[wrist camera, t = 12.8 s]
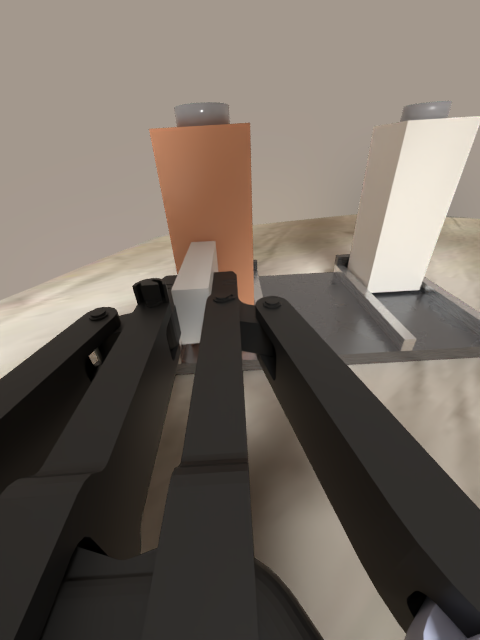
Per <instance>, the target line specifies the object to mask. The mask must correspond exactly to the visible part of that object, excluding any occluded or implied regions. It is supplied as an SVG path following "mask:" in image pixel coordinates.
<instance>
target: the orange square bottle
mask: <svg viewBox="0 0 480 640" xmlns="http://www.w3.org/2000/svg"><path fill="white" fill-rule="evenodd" d="M174 109H175V117H176V123H177V127H172V128H156V129H149V131H150V136H151V141H152V146H153V151H154V156H155V161H156V167H157V172H158V177H159V182H160V187H161V192H162V197H163V202H164V208H165V212H166V218H167V223H168V228H169V233H170V238H171V244H172V249H173V254H174V259H175V264H176V269H177V274H178V273H179V270H180V268H181V265H182V263H183V261H184V258H185V256H186V253H187V251H188V248H189V246H190V244H191V242H202V241H215V242H216V252H217V261H218V271H219V272H226V271H233V272H234V273H235V274H236V275H237V287H238V298H239V300H240V301H241V302H243V303H246V304H249V305H254V274H253V231H252V191H251V190H252V188H251V148H250V146H251V145H250V123H238V124H230V120H229V105H228V104H224V103H210V102H208V103H191V104H184V105H179V106H176V107H175V108H174Z"/></svg>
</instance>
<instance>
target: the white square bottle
mask: <svg viewBox="0 0 480 640" xmlns="http://www.w3.org/2000/svg"><path fill="white" fill-rule="evenodd" d="M451 104H452V101H439V102H429V103H420V104H413V105H408V106H405V107H404V108H403V112H402V116H401V120H400V122H397V123H391V124H385V125H379V126H374V128H373V134H372V139H371V145H370V150H369V155H368V161H367V166H366V171H365V177H364V182H363V187H362V193H361V198H360V204H359V209H358V214H357V220H356V225H355V230H354V236H353V241H352V246H351V252H350V257H349V262H348V268H347V269H348V270H349V271H350V272H351V273H352V274H353V275H354V276H355V277H356V278H357V279H358V280H359V281H360V282H361V283H362V284H363V285H364V286H365V287H366V288H367V289H368V290H369V291H370V292H371V293H377V292H394V291H411V290H419V289H420V287H421V284H422V281H423V278H424V276H425V273H426V270H427V267H428V265H429V262H430V259H431V256H432V254H433V251H434V248H435V245H436V243H437V240H438V237H439V234H440V232H441V229H442V226H443V223H444V221H445V218H446V215H447V212H448V209H449V207H450V204H451V201H452V199H453V196H454V193H455V191H456V188H457V185H458V182H459V180H460V177H461V174H462V171H463V168H464V166H465V163H466V160H467V157H468V155H469V152H470V149H471V146H472V144H473V141H474V138H475V135H476V133H477V130H478V127H479V125H480V116H476V117H458V118H447V116H448V113H449V110H450V107H451Z"/></svg>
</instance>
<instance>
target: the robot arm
mask: <svg viewBox="0 0 480 640" xmlns="http://www.w3.org/2000/svg"><path fill="white" fill-rule="evenodd" d="M132 287H133V290H134V293H135V297H136V300H137V303H138V305H137V306H136V308H135V310H134V312H133V313H130V314H125V315H121V316H119V315H118V312H117V310H116V309H115V308H111V307H100V308H96V309H94V310H92V311H90V312H88V313H86V314H85V315H83V316H82V317H81V318H80V319H78V320H77V321H76V322H74V323H73V324H72V325H70V326H69V327H68V328H67V329H65V330H64V331H63V332H61V333H60V334H59V335H57V336H56V337H55V338H53V339H52V340H51V341H50V342H48V343H47V344H46V345H44V346H43V347H42V348H40V349H39V350H38V351H37V352H35V353H34V354H33V355H31V356H30V357H29V358H27V359H26V360H25V361H23V362H22V363H21V364H20V365H18V366H17V367H16V368H14V369H13V370H12V371H10V372H9V373H8V374H7V375H5V376H4V377H3V378H1V379H0V640H324V639H323V637H322V636H321V635H320V633H319V632H318V630H317V629H316V627H315V626H314V624H313V623H312V621H311V620H310V618H309V617H308V615H307V614H306V612H305V611H304V609H303V608H302V606H301V605H300V603H299V602H298V600H297V599H296V598H295V596H294V595H293V593H292V592H291V591H290V589H289V588H288V587H287V586H286V585H285V584H284V582H283V581H282V580H281V579H280V578H279V577H278V576H277V575H276V574H275V573H274V572H273V571H272V570H271V569H269V568H268V567H267V566H266V565H264V564H263V563H261V562H260V561H258V560H257V559H255V558H254V550H253V534H252V517H251V500H250V484H249V467H248V450H247V434H246V417H245V400H244V384H243V367H242V351H245V352H250V353H256V355H257V359H258V361H259V363H260V365H261V367H262V369H263V371H264V373H265V375H266V377H267V379H268V381H269V383H270V385H271V387H272V389H273V391H274V393H275V395H276V397H277V399H278V401H279V403H280V404H281V406H282V408H283V410H284V412H285V414H286V416H287V418H288V420H289V422H290V424H291V426H292V428H293V430H294V432H295V434H296V436H297V438H298V440H299V442H300V444H301V446H302V448H303V450H304V452H305V454H306V456H307V458H308V459H309V461H310V463H311V465H312V467H313V469H314V471H315V473H316V475H317V477H318V479H319V481H320V483H321V485H322V487H323V489H324V491H325V493H326V495H327V497H328V499H329V501H330V503H331V505H332V507H333V509H334V511H335V513H336V514H337V516H338V518H339V520H340V522H341V524H342V526H343V528H344V530H345V532H346V534H347V536H348V538H349V540H350V542H351V544H352V546H353V548H354V550H355V552H356V554H357V556H358V558H359V560H360V561H361V563H362V565H363V567H364V569H365V570H366V572H367V574H368V576H369V578H370V579H371V581H372V583H373V585H374V586H375V588H376V590H377V592H378V593H379V595H380V596H381V598H382V599H383V601H384V602H385V604H386V605H387V607H388V608H389V610H390V611H391V613H392V614H393V616H394V617H395V619H396V620H397V622H398V623H399V625H400V626H401V627H402V629H403V630H404V631H405V633H406V636H405V639H404V640H480V509H479V508H478V507H477V506H476V505H475V504H474V503H473V502H472V500H471V499H470V498H469V497H468V496H467V495H466V494H465V493H464V492H463V491H462V490H461V488H460V487H459V486H458V485H457V484H456V483H455V482H454V481H453V480H452V479H451V478H450V477H449V475H448V474H447V473H446V472H445V471H444V470H443V469H442V468H441V467H440V466H439V465H438V464H437V462H436V461H435V460H434V459H433V458H432V457H431V456H430V455H429V454H428V453H427V452H426V451H425V449H424V448H423V447H422V446H421V445H420V444H419V443H418V442H417V441H416V440H415V439H414V437H413V436H412V435H411V434H410V433H409V432H408V431H407V430H406V429H405V428H404V427H403V426H402V424H401V423H400V422H399V421H398V420H397V419H396V418H395V417H394V416H393V415H392V414H391V413H390V411H389V410H388V409H387V408H386V407H385V406H384V405H383V404H382V403H381V402H380V401H379V399H378V398H377V397H376V396H375V395H374V394H373V393H372V392H371V391H370V390H369V389H368V388H367V386H366V385H365V384H364V383H363V382H362V381H361V380H360V379H359V378H358V377H357V376H356V375H355V373H354V372H353V371H352V370H351V369H350V368H349V367H348V366H347V365H346V364H345V363H344V362H343V360H342V359H341V358H340V357H339V356H338V355H337V354H336V353H335V352H334V351H333V350H332V348H331V347H330V346H329V345H328V344H327V343H326V342H325V341H324V340H323V339H322V338H321V337H320V335H319V334H318V333H317V332H316V331H315V330H314V329H313V328H312V327H311V326H310V325H309V324H308V322H307V321H306V320H305V319H304V318H303V317H302V316H301V315H300V314H299V313H298V312H297V310H296V309H295V308H294V307H293V306H292V305H291V304H290V303H289V302H288V301H287V300H286V299H284V298H281V297H278V296H267V297H263V298H260V299H259V300H257V302H256V303H255V305H249V304H246V303H243V302H241V301H240V300H239V298H238V287H237V275H236V274H235V273H234V272H233V271H226V272H219V271H218V261H217V252H216V242H215V241H202V242H191V244H190V246H189V248H188V251H187V253H186V256H185V258H184V261H183V263H182V265H181V268H180V270H179V273H178V275H173V276H166V277H164V278H163V279H159V278H151V279H145V280H142V281H139V282H137V283H135V284H134V285H133V286H132ZM180 336H181V338H182V343H183V344H194V343H200V345H199V351H198V358H197V364H196V370H195V377H194V383H193V390H192V396H191V403H190V409H189V416H188V422H187V428H186V435H185V441H184V448H183V454H182V459H181V463H180V465H179V466H178V467H176V468H175V469H174V471H173V473H172V476H171V480H170V484H169V488H168V494H167V500H166V505H165V511H164V516H163V522H162V527H161V533H160V538H159V544H158V548H156V549H153V550H151V551H148V552H146V553H143V554H140V551H141V534H140V526H141V519H142V514H143V510H144V505H145V501H146V497H147V493H148V488H149V484H150V480H151V476H152V471H153V467H154V463H155V459H156V455H157V450H158V446H159V442H160V438H161V433H162V429H163V425H164V421H165V416H166V412H167V408H168V404H169V399H170V395H171V391H172V387H173V382H174V378H175V374H176V370H177V365H178V361H179V357H180V353H181V347H180V343H179V340H180ZM93 351H95V353H96V356H97V358H98V361H97V363H95V364H94V365H93V364H92V362H91V360H90V358H89V355H90V354H91V353H92V352H93Z"/></svg>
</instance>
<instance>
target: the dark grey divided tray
mask: <svg viewBox="0 0 480 640" xmlns="http://www.w3.org/2000/svg"><path fill="white" fill-rule="evenodd" d="M349 257H350V254H347V255H336V259H335V265H334V272H327V273H310V274H293V275H276V276H259V277H258V273H257V260H253V274H254V305H255V303H256V302H257V300H259V299H260V298H263V297H267V296H278V297H281V298H284V299H286V300H287V301H288V302H289V303H290V304H291V305H292V306H293V307H294V308H295V309H296V310H297V312H298V313H299V314H300V315H301V316H302V317H303V318H304V319H305V320H306V321H307V322H308V324H309V325H310V326H311V327H312V328H313V329H314V330H315V331H316V332H317V333H318V334H319V335H320V337H321V338H322V339H323V340H324V341H325V342H326V343H327V344H328V345H329V346H330V347H331V348H332V350H333V351H334V352H335V353H336V354H337V355H338V356H339V357H340V358H341V359H342V360H343V362H344V363H345V364H346V365H351V364H369V363H386V362H403V361H421V360H438V359H455V358H473V357H480V312H478V311H477V310H475V309H474V308H472V307H470V306H469V305H467V304H466V303H464V302H463V301H461V300H460V299H458V298H457V297H455V296H453V295H452V294H450V293H449V292H447V291H446V290H444V289H443V288H441V287H440V286H438V285H437V284H435V283H433V282H432V281H430V280H429V279H427V278H426V277H424V278H423V281H422V284H421V287H420V289H419V290H411V291H394V292H377V293H371V292H370V291H369V290H368V289H367V288H366V287H365V286H364V285H363V284H362V283H361V282H360V281H359V280H358V279H357V278H356V277H355V276H354V275H353V274H352V273H351V272H350V271H349V270H348V269H347V268H348V262H349ZM179 343H180V347H181V353H180V357H179V361H178V365H177V370H176V374H175V375H178V374H195V370H196V364H197V358H198V351H199V345H200V343H194V344H183V343H182V338H181V336H180V340H179ZM242 367H243V371H247V370H263V369H262V367H261V365H260V363H259V361H258V359H257V355H256V353H250V352H245V351H242Z"/></svg>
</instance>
